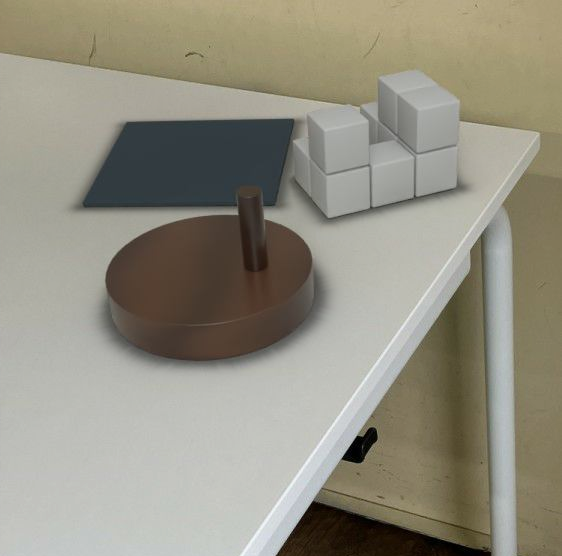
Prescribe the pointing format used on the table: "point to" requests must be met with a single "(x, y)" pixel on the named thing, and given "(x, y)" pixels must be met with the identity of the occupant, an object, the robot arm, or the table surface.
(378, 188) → the puzzle cube
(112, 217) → the table surface
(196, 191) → the mat
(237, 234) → the peg stand
